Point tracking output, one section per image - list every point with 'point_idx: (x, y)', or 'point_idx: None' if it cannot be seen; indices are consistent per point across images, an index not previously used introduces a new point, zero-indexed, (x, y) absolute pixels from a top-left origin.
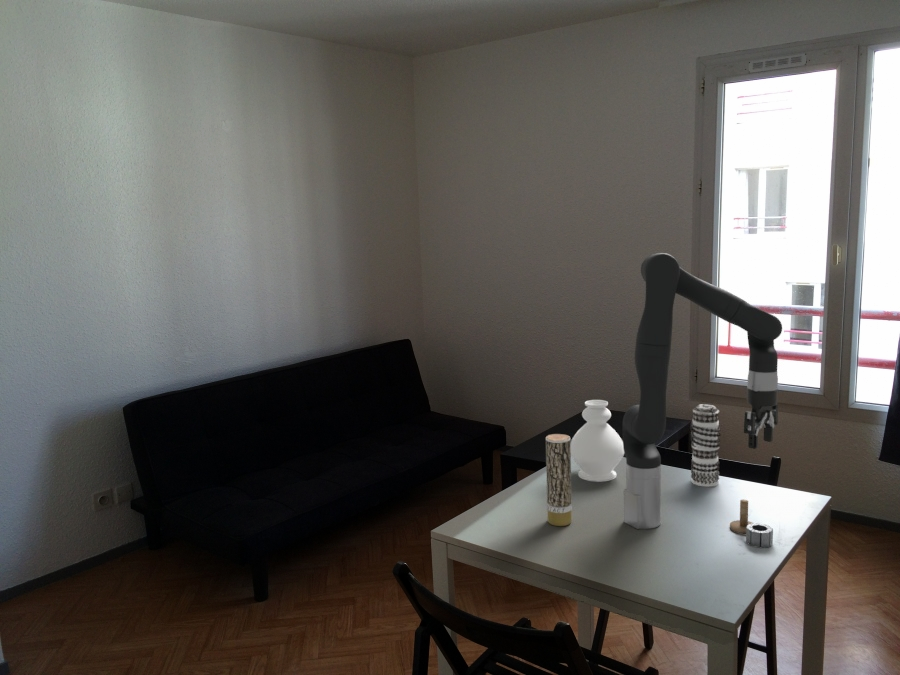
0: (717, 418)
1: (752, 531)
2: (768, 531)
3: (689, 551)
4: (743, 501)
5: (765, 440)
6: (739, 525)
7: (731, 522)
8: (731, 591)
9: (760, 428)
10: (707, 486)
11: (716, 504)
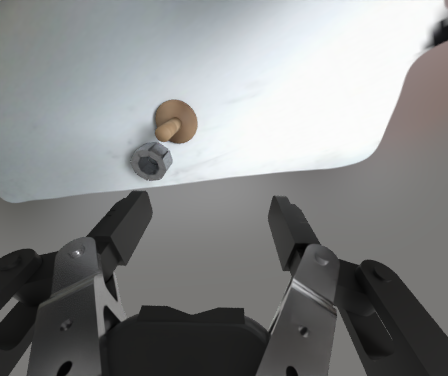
0: None
1: (131, 163)
2: (148, 178)
3: (44, 97)
4: (158, 135)
5: (273, 201)
6: (171, 118)
7: (170, 101)
8: (39, 183)
9: (123, 312)
10: None
11: (247, 10)
